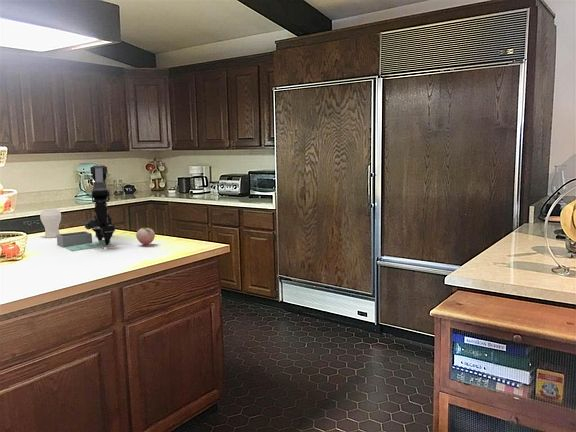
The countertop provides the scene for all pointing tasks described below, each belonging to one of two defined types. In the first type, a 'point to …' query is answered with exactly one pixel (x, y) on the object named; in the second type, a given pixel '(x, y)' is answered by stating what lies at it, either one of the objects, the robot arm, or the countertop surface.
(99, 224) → the robot arm
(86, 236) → the tub
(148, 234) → the decorative fruit
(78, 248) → the lid
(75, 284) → the countertop surface
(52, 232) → the cup
